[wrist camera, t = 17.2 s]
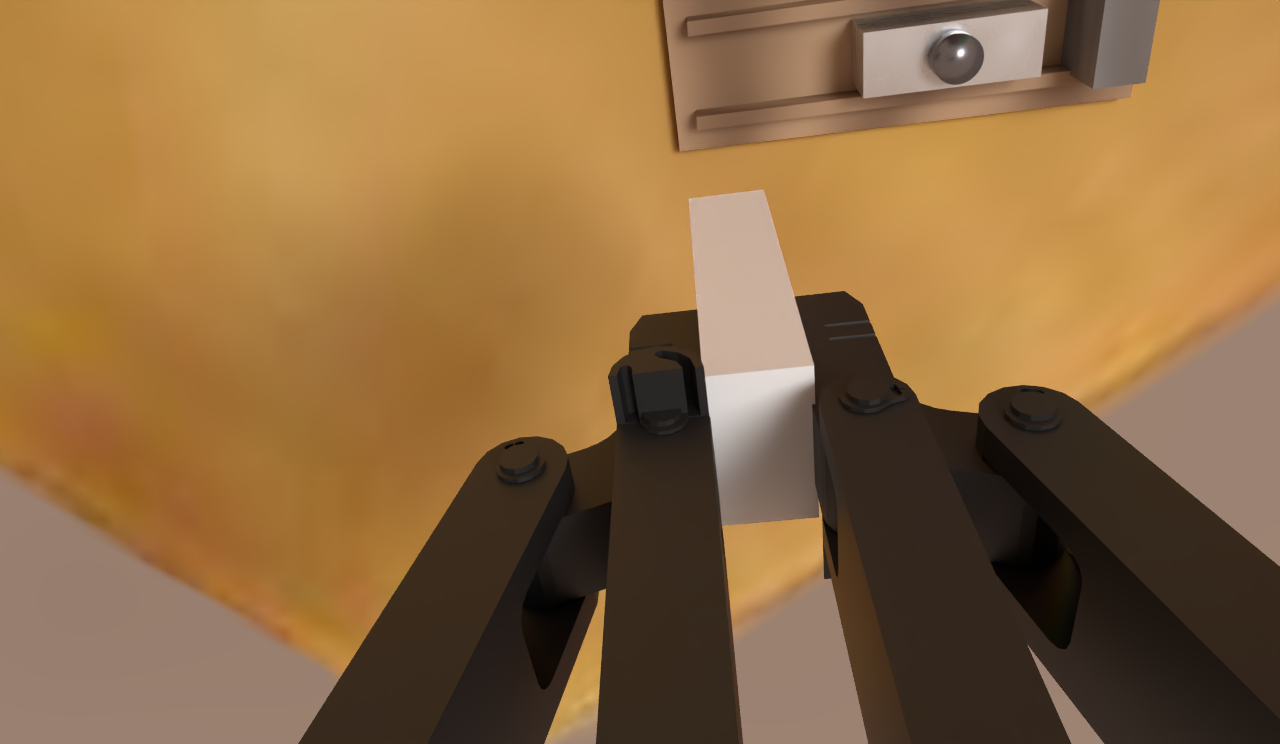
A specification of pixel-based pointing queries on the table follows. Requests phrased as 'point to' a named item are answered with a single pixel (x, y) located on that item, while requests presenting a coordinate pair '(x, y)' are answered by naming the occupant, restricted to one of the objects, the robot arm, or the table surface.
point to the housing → (822, 74)
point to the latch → (947, 47)
